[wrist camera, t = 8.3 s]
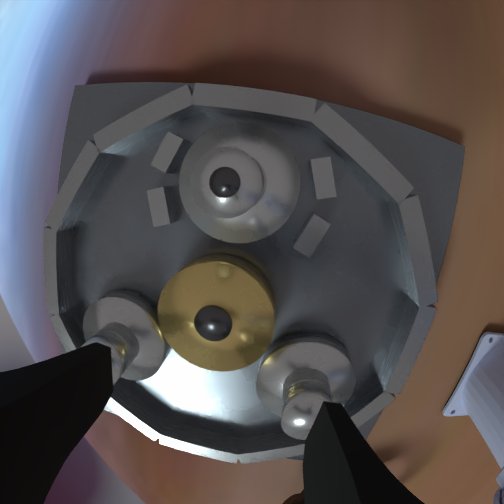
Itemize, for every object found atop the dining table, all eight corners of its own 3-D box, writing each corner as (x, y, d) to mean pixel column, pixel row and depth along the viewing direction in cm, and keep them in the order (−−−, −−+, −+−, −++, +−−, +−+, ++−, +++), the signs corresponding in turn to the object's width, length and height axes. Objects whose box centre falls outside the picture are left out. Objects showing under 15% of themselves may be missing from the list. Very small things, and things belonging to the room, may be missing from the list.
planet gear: (314, 148, 15) (326, 135, 11) (276, 253, 17) (272, 281, 12) (208, 114, 15) (179, 91, 11) (175, 216, 17) (136, 230, 12)
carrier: (456, 147, 15) (511, 140, 9) (349, 455, 21) (357, 505, 15) (83, 88, 17) (29, 70, 11) (76, 388, 22) (43, 424, 17)
